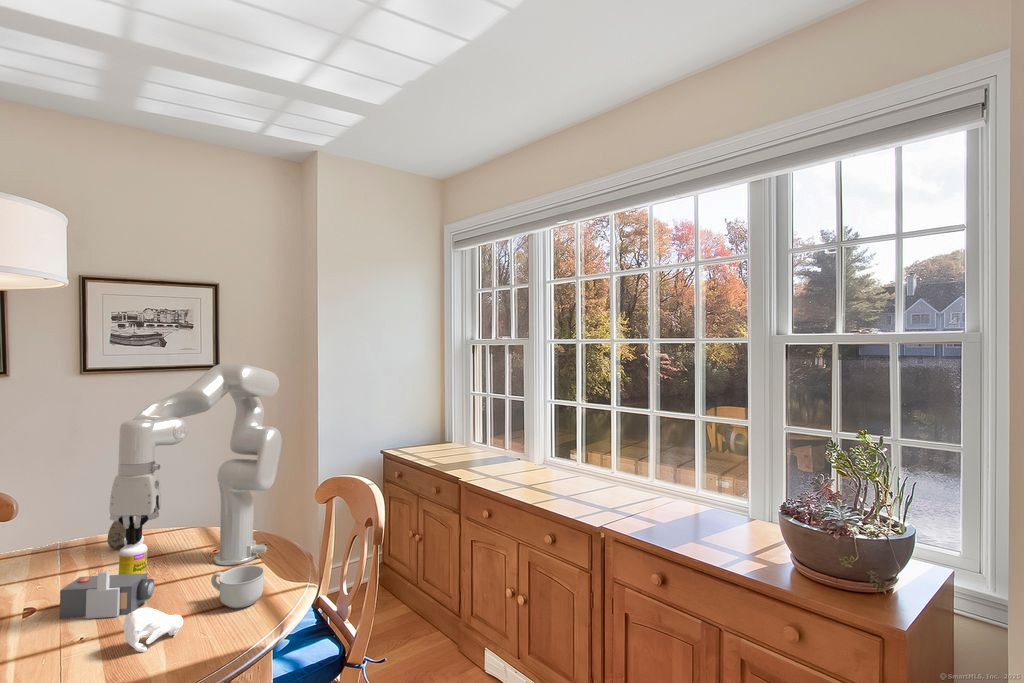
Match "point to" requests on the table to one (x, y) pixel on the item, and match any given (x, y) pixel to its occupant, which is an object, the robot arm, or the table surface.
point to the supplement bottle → (133, 558)
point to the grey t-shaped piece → (102, 598)
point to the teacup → (240, 585)
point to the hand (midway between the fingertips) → (133, 542)
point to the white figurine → (149, 626)
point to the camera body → (131, 587)
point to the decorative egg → (116, 535)
